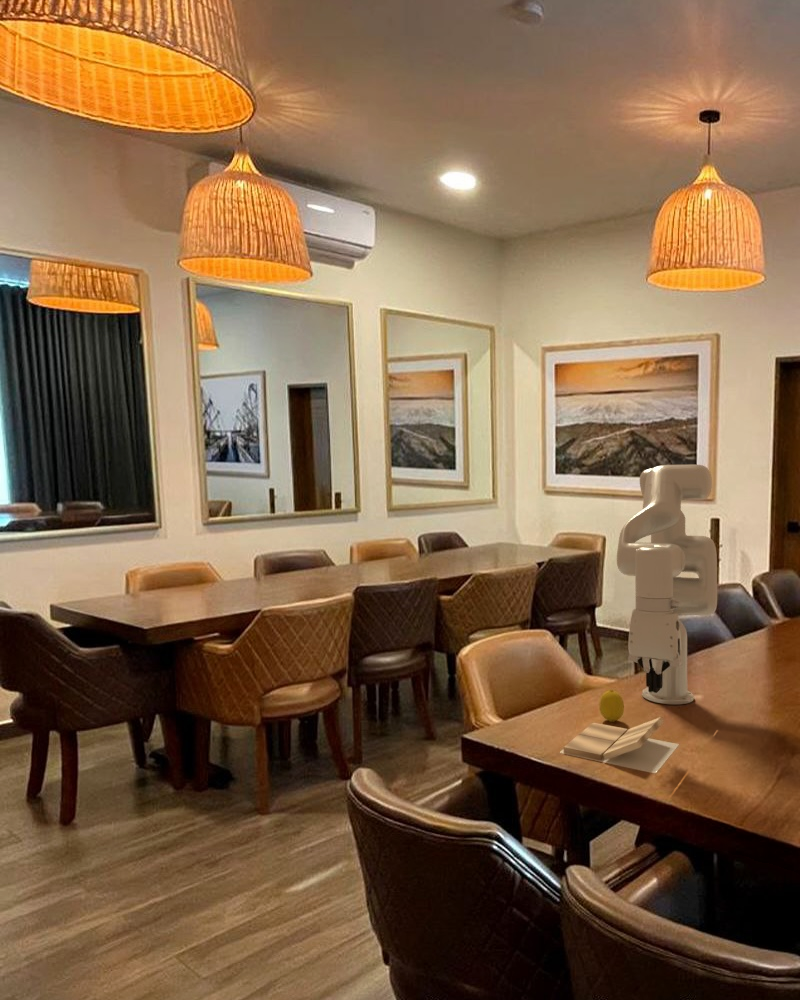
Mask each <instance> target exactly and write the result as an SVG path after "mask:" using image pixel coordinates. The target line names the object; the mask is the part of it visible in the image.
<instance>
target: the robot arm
mask: <svg viewBox="0 0 800 1000" xmlns="http://www.w3.org/2000/svg"><path fill="white" fill-rule="evenodd" d="M712 485H713V480H712V475H711V471H710V469H709V468H708V467H706V466H704V465H702V464H694V463H693V464H661V465H657V466H654V467H652V468H650V467H649V468H648V469H644V470H643V471H642V472H641V473H640V475H639V487H640V492H641V496H642V498H643V503H642V509H641V510H640V511H639V512H637V513H635V514H634V515H633V516H632V517H630V519H629V520H628V521H627V522H626V523H625V524H624V525H623V527H622V528H621V530H620V533H619V537H618V543H617V551H616V565H617V566H616V567H617V569H618V571H620V573H621V574H623V575H624V576H629V577H634V578H635V608H634V609H632V612H631V617H630V623H629V629H628V630H629V631H628V646H627V647H628V656H627V658H628V660H629V661H630V662H634V663H637V664H638V665H639V666H640V667H641V668H642V669H643V671H644V672H645V686H646V688H644V689H642V691H641V692H642V693H641V695H642V697H643V698H644V699H645V700H648V701H650V702H653V703H656V704H657V703H658V704H662V705H685V704H690V703H692V702H693V701H694V698H695V697H694V696H695V695H694V694H693V693H692V692H691V691H689V690H688V633H687V629H686V627H685V625H684V624H683V623H682V621H681V620H680V618H679V616H680V615H681V616H682V615H685V616H704V617H707V616H711V615H713V614H714V613H716V610H717V608H718V607H717V606H718V554H717V548H716V544H715V542H714V541H713V539H712V538H711V537H708V536H704V535H687V534H686V517H685V513H684V512H683V511H682V510H681V508H682V500H683V501H684V500H686V501H688V500H689V501H694V500H695V501H696V500H697V501H701V500H702V501H703V500H704V501H705V500H706V499H708V498H709V496H710V495H711V492H712V488H713V486H712ZM648 536H650V542H638V541H639V540H641V539H644V538H645V537H648ZM681 573H694V574H696V575H697V577H686V576H685V577H681V576H679V575H680V574H681Z"/></svg>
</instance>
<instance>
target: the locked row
mask: <svg viewBox="0 0 800 1000" xmlns="http://www.w3.org/2000/svg"><path fill="white" fill-rule="evenodd" d="M628 730H629V729H628V728H624V727H618V726H613V725H609V724H603V723H598V722H592V723H591V724H589V725H588V726H587V727H585V729H583V730H582V731H581V732H579V733H578V734H577V735H576V736H574V737H573V739H571V740H570V741H569V742H567V743H566V744H565V745H564V746H563V749H564V753H568V754H573V755H577V756H582V757H587V758H591V759H596V760H600V761H601V760H602V759H603V758H604V756H603V754H604V753H605V752H606V751H607V750H608V749H609V748H610V747H611V746H612V745H613V744H614V743H615V742H616V741H617V740H618V739H619V738H620V737H622V736H623V735H624V734H625V733H626V732H627V731H628Z"/></svg>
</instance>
